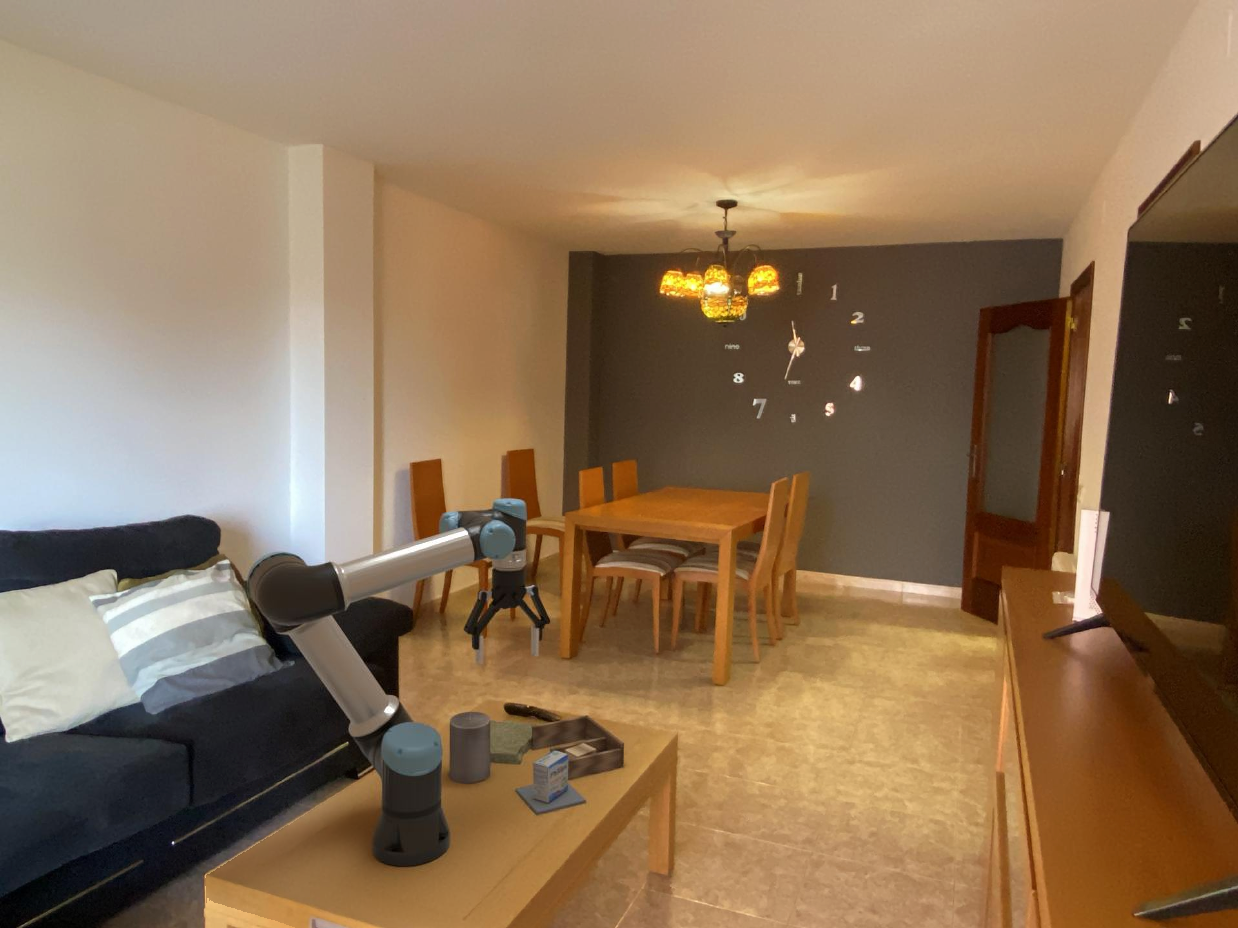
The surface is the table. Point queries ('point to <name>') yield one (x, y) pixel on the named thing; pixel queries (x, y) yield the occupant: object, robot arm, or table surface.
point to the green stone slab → (509, 741)
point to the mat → (561, 801)
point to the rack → (579, 729)
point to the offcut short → (579, 751)
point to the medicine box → (550, 776)
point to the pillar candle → (469, 747)
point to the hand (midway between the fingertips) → (507, 658)
